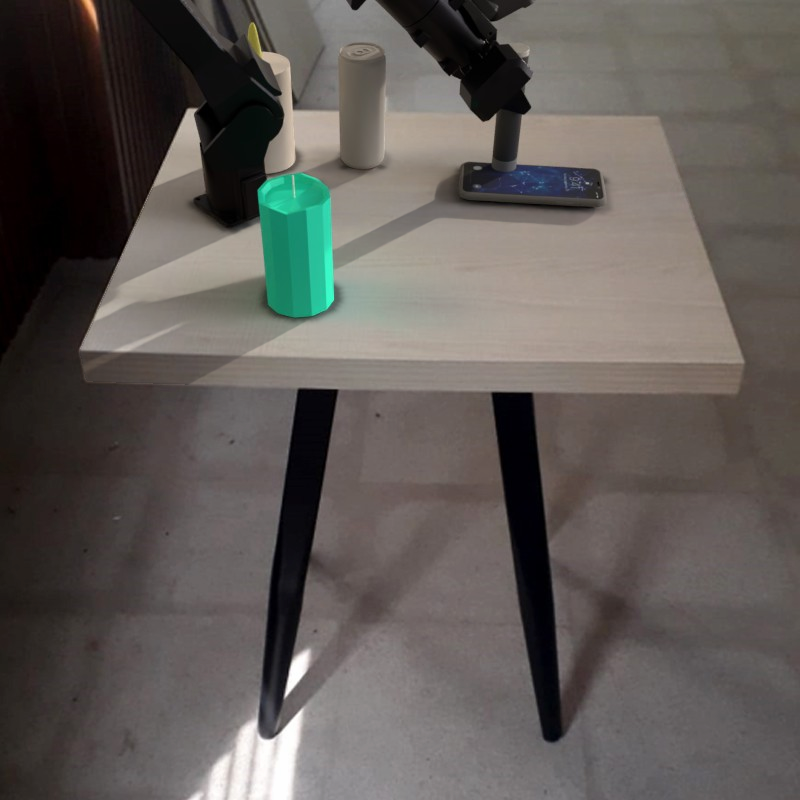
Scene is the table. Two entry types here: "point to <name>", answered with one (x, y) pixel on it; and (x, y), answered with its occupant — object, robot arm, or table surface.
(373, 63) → the beverage can
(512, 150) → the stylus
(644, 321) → the table surface
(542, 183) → the smartphone
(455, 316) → the table surface
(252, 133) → the robot arm
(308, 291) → the candle
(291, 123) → the candle
